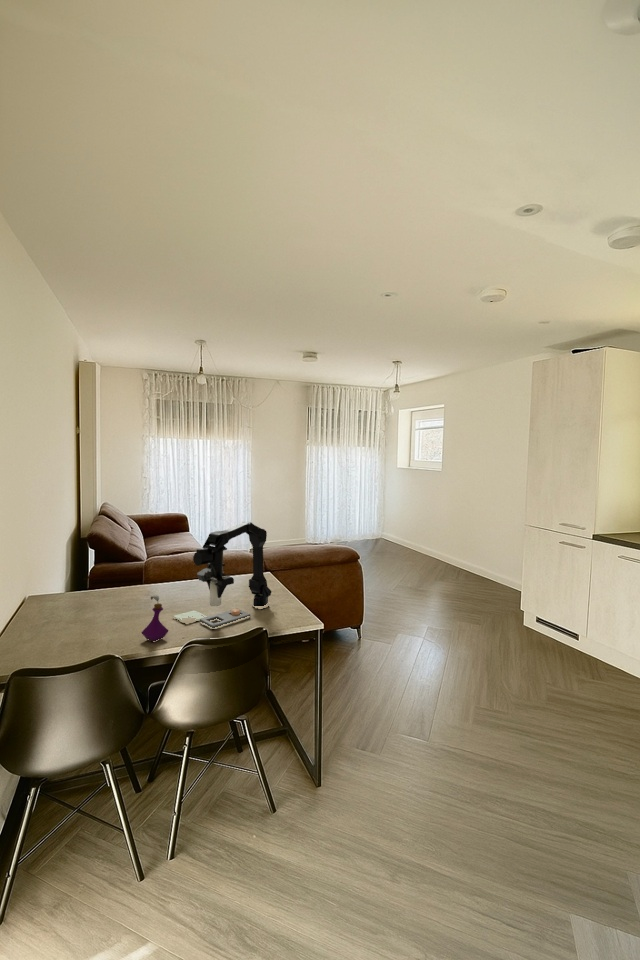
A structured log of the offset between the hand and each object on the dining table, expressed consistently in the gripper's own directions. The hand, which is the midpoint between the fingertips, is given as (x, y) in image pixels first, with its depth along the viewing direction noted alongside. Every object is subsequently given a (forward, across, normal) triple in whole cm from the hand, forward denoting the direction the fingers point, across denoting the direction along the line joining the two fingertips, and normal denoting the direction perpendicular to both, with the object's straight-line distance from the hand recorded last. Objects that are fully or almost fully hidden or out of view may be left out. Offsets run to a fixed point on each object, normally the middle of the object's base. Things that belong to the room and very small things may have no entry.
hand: (215, 596), depth 197 cm
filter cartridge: (+4, 0, 0) cm, 4 cm away
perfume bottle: (+13, -3, -26) cm, 29 cm away
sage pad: (+13, -13, -4) cm, 19 cm away
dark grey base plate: (+13, 0, +6) cm, 14 cm away
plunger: (+12, 0, +11) cm, 16 cm away
